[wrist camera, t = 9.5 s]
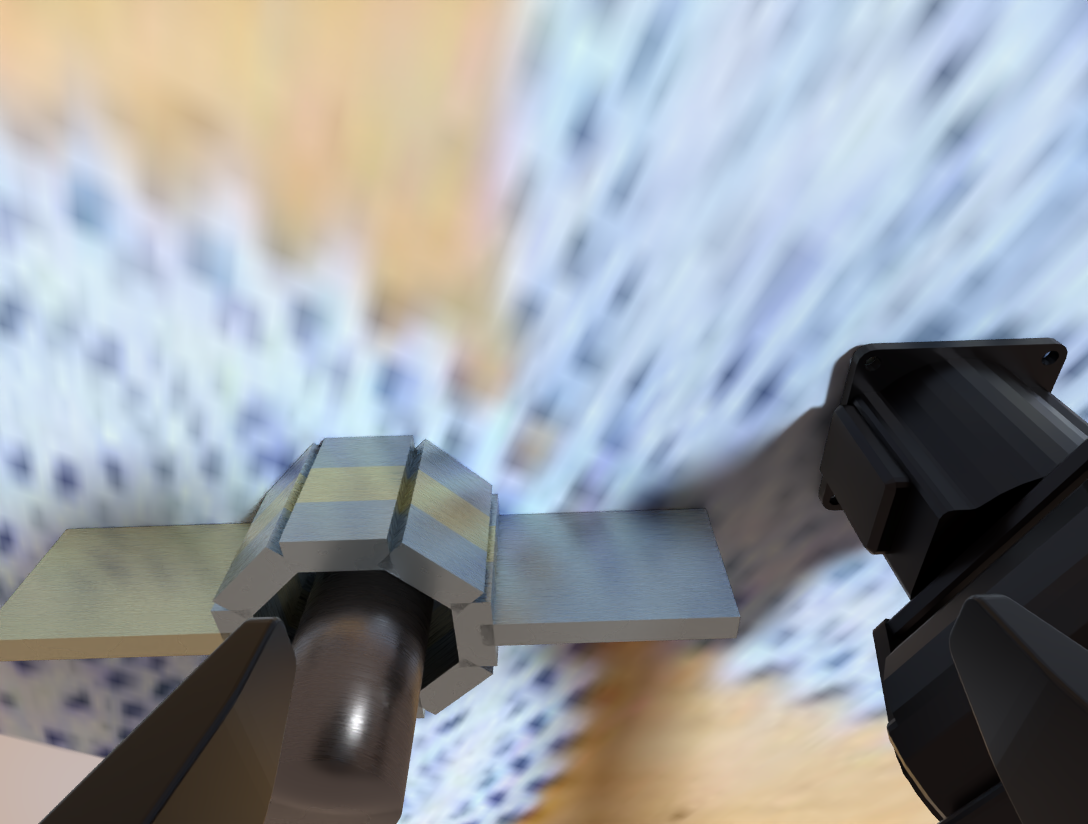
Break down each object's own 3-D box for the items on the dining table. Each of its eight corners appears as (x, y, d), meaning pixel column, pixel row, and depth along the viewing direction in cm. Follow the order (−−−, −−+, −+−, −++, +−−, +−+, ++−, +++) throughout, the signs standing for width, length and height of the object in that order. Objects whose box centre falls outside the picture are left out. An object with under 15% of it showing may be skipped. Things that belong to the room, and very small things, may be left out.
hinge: (716, 425, 23) (757, 526, 19) (693, 596, 28) (722, 708, 23) (22, 448, 23) (-91, 553, 19) (114, 615, 28) (40, 729, 24)
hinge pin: (437, 486, 24) (389, 757, 16) (449, 565, 27) (412, 841, 18) (325, 489, 24) (218, 763, 16) (346, 569, 27) (262, 846, 18)
